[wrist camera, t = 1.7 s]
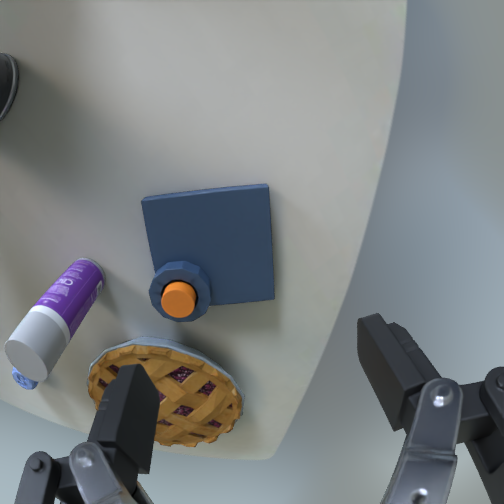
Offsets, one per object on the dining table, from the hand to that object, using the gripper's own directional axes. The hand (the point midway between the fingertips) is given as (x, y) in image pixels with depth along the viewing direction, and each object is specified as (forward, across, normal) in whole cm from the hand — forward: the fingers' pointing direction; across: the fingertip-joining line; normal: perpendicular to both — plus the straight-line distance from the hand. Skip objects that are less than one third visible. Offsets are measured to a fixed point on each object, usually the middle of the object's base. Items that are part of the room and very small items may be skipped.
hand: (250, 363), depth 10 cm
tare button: (+18, +7, +6) cm, 20 cm away
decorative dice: (+21, +38, +16) cm, 46 cm away
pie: (+21, +16, +22) cm, 34 cm away
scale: (+21, +3, +3) cm, 21 cm away
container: (+21, +18, +3) cm, 28 cm away
